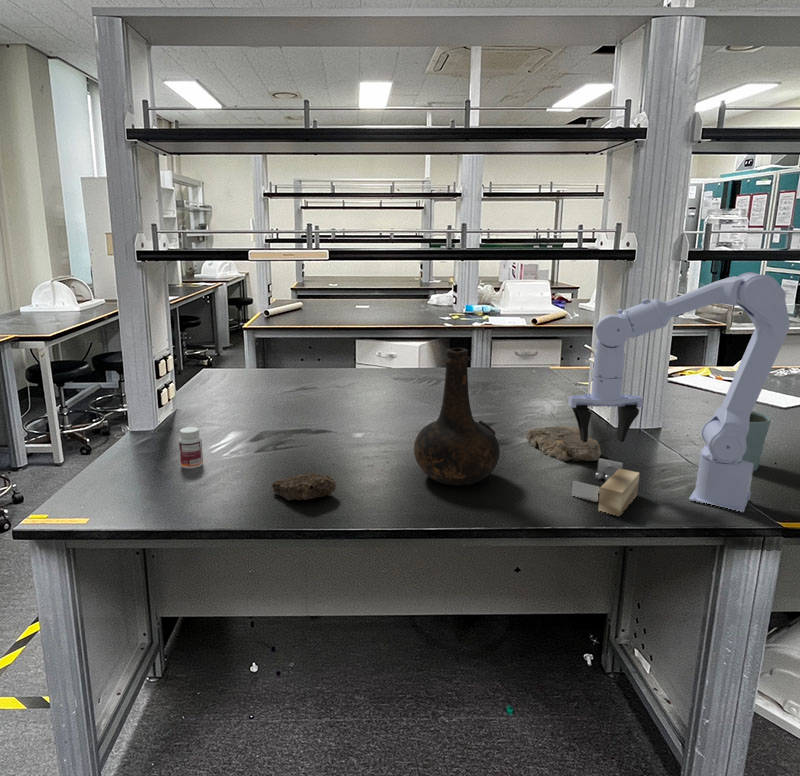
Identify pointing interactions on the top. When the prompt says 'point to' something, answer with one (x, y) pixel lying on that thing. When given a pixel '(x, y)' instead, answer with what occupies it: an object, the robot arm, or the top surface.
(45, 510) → the top surface
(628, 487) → the oak block
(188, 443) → the pill bottle
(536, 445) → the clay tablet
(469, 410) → the glass bottle
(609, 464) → the grey blocks and balls
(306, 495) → the brown rock
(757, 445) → the green ceramic planter
